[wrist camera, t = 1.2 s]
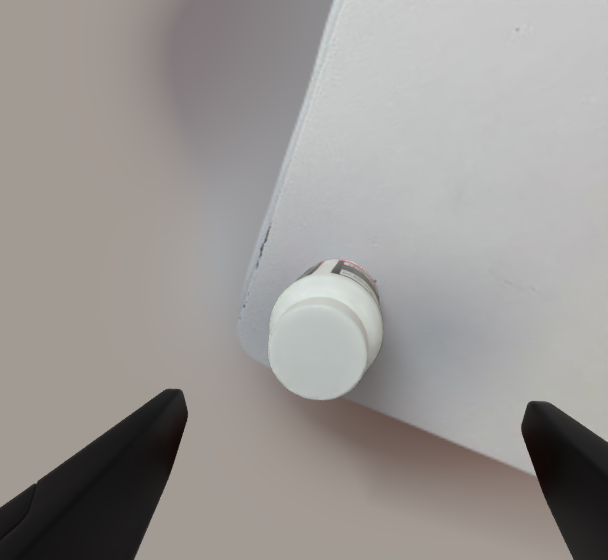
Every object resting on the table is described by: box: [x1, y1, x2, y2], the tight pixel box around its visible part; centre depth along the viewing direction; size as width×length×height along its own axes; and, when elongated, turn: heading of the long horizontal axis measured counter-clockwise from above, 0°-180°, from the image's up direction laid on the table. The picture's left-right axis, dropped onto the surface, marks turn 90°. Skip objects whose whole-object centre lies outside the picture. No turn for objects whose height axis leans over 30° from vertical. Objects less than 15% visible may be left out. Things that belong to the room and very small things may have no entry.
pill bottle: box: [268, 259, 383, 401], centre depth 18 cm, size 5×5×10 cm
